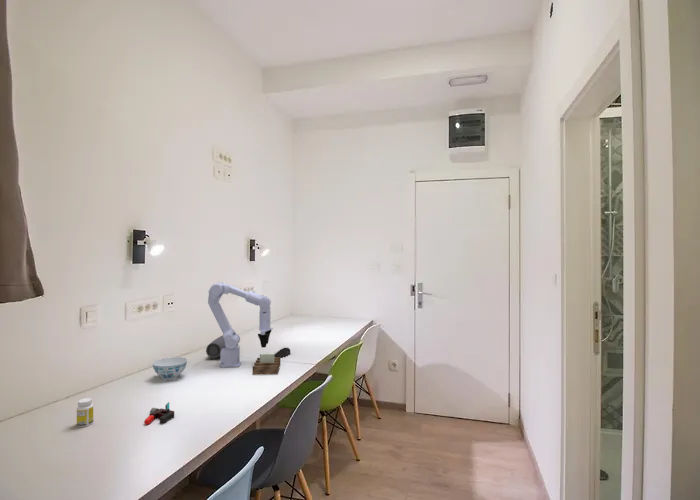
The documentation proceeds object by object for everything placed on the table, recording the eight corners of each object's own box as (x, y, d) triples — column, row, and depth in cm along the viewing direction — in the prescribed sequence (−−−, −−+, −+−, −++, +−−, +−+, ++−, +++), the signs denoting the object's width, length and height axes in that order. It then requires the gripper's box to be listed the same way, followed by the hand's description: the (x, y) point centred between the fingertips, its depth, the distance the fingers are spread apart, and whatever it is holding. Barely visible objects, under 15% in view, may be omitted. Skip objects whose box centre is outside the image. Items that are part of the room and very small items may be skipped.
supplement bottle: (90, 420, 137) (90, 396, 137) (95, 423, 134) (95, 399, 134) (74, 424, 133) (74, 400, 133) (79, 428, 130) (79, 404, 130)
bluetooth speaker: (221, 360, 211) (221, 342, 211) (205, 360, 211) (205, 342, 211) (235, 349, 234) (235, 333, 234) (219, 349, 234) (219, 333, 234)
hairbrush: (258, 359, 205) (280, 345, 229) (258, 365, 206) (280, 351, 229) (272, 360, 203) (293, 346, 227) (272, 367, 203) (293, 352, 227)
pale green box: (259, 368, 194) (259, 354, 194) (260, 367, 196) (260, 353, 196) (274, 368, 195) (274, 354, 195) (274, 366, 197) (274, 353, 197)
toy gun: (154, 412, 145) (154, 399, 145) (178, 417, 140) (178, 404, 140) (131, 423, 136) (131, 409, 136) (156, 429, 131) (156, 414, 131)
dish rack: (252, 374, 187) (252, 366, 187) (257, 365, 202) (257, 357, 202) (277, 374, 188) (277, 365, 188) (280, 364, 203) (280, 357, 203)
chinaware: (174, 384, 174) (174, 367, 174) (144, 381, 177) (144, 365, 177) (193, 373, 188) (193, 357, 188) (166, 371, 191) (166, 356, 191)
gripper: (270, 322, 197) (270, 348, 198) (274, 317, 212) (274, 342, 212) (256, 322, 197) (256, 349, 197) (261, 317, 211) (261, 342, 211)
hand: (264, 345), depth 204 cm, fingers open, 7 cm apart
